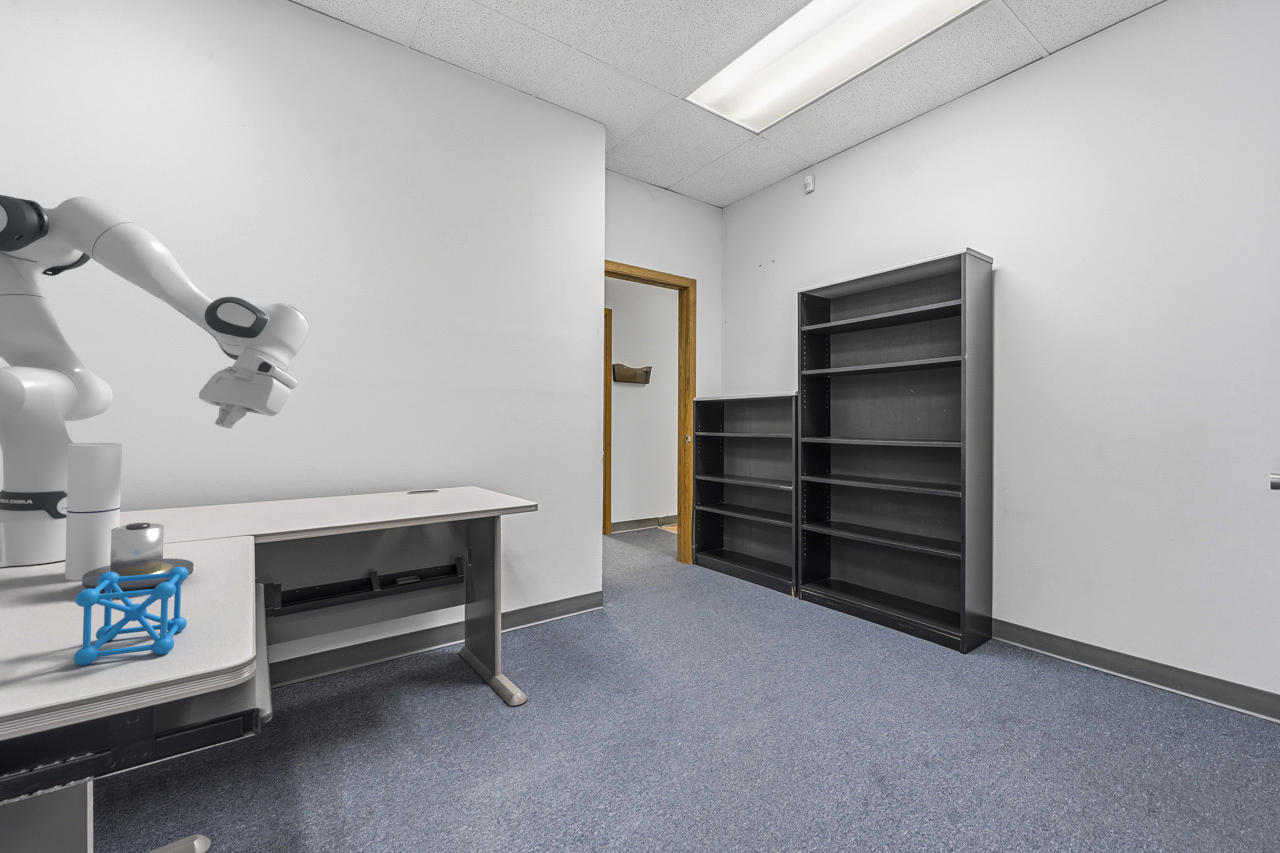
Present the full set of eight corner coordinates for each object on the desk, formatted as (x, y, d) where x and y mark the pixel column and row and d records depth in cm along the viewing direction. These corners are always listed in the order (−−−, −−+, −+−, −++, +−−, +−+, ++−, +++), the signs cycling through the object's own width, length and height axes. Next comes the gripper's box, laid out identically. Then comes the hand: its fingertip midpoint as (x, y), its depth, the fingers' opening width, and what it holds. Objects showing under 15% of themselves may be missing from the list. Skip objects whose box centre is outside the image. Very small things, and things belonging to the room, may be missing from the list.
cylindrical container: (56, 582, 98) (60, 445, 97) (75, 570, 104) (78, 442, 103) (109, 578, 101) (113, 446, 100) (124, 567, 107) (128, 443, 107)
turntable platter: (56, 585, 92) (56, 578, 92) (147, 561, 107) (147, 555, 107) (132, 594, 90) (132, 586, 90) (213, 568, 105) (214, 562, 105)
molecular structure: (171, 656, 74) (174, 584, 73) (69, 670, 69) (72, 592, 68) (188, 628, 82) (190, 563, 82) (98, 639, 77) (100, 570, 77)
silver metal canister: (98, 574, 95) (100, 526, 95) (140, 564, 102) (142, 519, 102) (132, 578, 94) (134, 530, 94) (172, 567, 101) (174, 522, 101)
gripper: (212, 357, 118) (174, 412, 112) (280, 368, 111) (243, 426, 106) (237, 373, 123) (202, 426, 118) (303, 383, 117) (269, 440, 111)
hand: (222, 426), depth 112 cm, fingers closed
